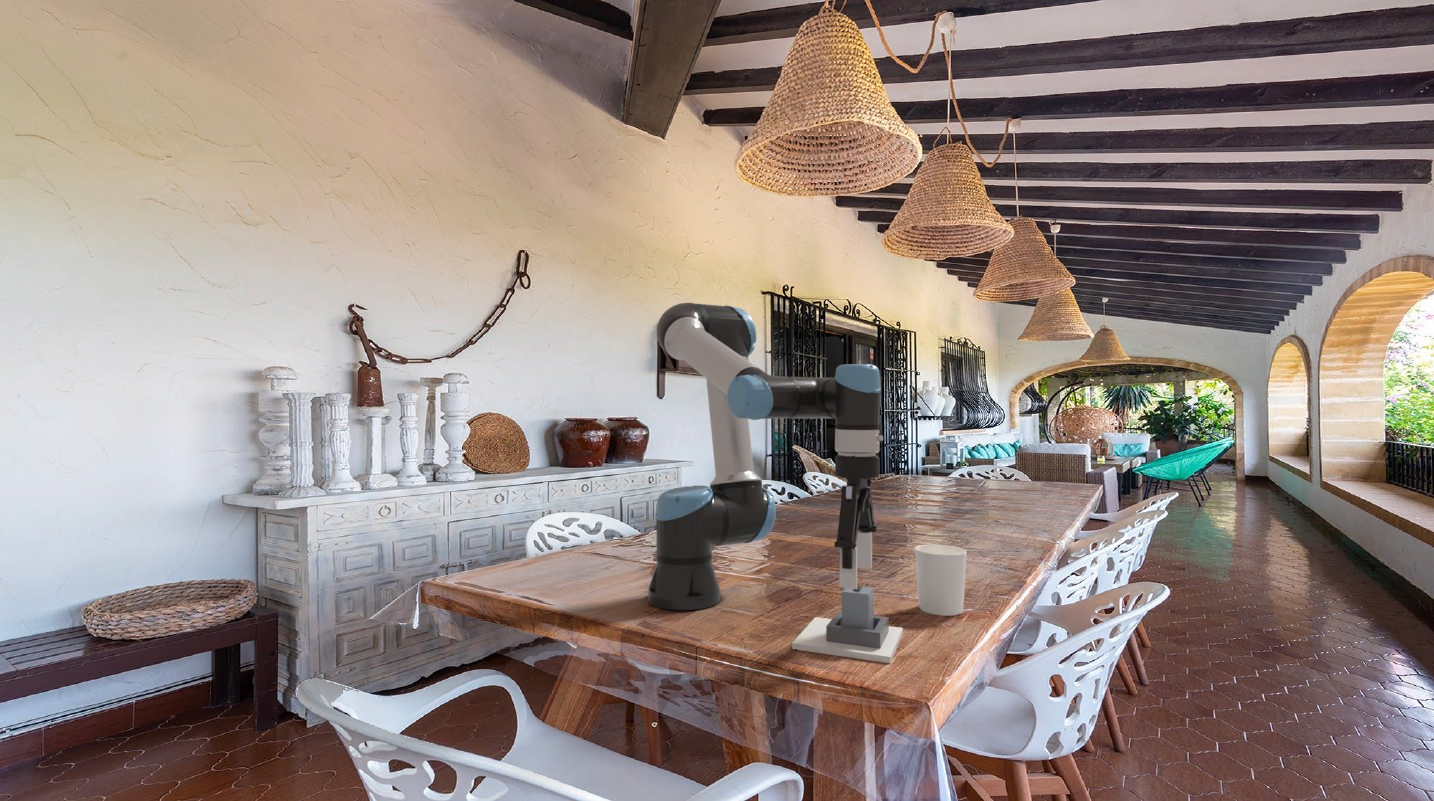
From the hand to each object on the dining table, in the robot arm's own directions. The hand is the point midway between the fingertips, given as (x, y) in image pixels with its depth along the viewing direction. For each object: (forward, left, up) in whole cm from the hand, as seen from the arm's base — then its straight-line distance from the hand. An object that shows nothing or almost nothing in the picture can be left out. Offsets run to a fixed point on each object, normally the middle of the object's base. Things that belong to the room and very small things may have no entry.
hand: (856, 577), depth 114 cm
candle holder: (+12, +25, -11) cm, 30 cm away
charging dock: (-1, 0, -11) cm, 11 cm away
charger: (0, 0, -10) cm, 10 cm away
